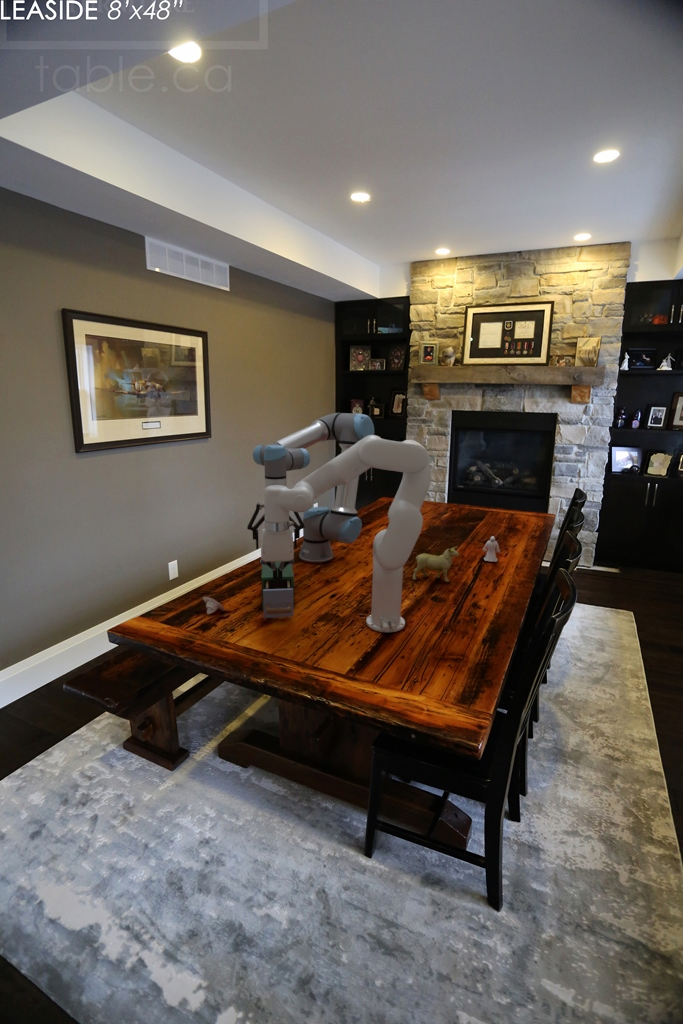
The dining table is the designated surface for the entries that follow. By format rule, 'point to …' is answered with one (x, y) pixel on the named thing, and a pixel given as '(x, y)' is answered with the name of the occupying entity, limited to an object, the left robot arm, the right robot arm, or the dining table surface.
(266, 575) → the cabinet
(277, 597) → the drawer
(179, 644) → the dining table surface
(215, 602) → the seashell
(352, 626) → the dining table surface
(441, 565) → the toy
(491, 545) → the figurine
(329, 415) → the left robot arm
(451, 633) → the dining table surface
